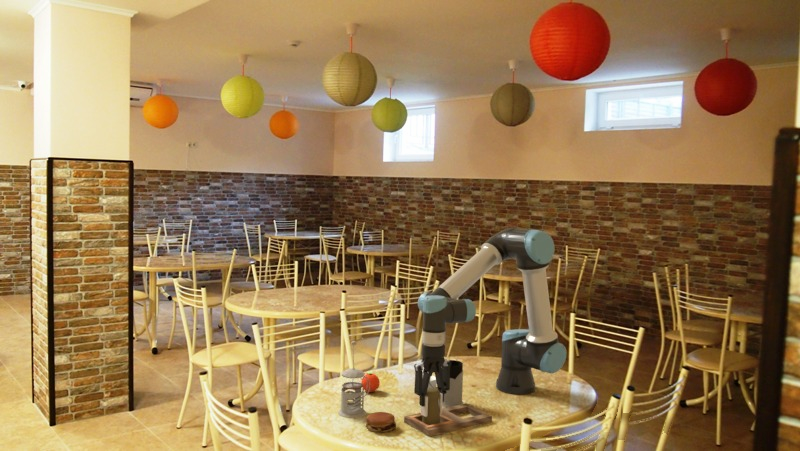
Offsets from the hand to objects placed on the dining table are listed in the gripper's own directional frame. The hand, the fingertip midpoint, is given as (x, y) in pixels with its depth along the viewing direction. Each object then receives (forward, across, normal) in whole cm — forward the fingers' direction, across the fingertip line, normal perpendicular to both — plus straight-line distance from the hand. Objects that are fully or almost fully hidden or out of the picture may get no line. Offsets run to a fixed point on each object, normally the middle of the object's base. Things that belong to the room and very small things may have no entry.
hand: (431, 413), depth 211 cm
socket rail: (+4, +7, 0) cm, 8 cm away
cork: (+3, 0, 0) cm, 3 cm away
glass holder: (+4, +17, +16) cm, 24 cm away
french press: (+4, -16, +23) cm, 28 cm away
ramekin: (+4, +21, +33) cm, 39 cm away
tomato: (+4, 0, +40) cm, 40 cm away
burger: (+4, -15, +6) cm, 17 cm away
